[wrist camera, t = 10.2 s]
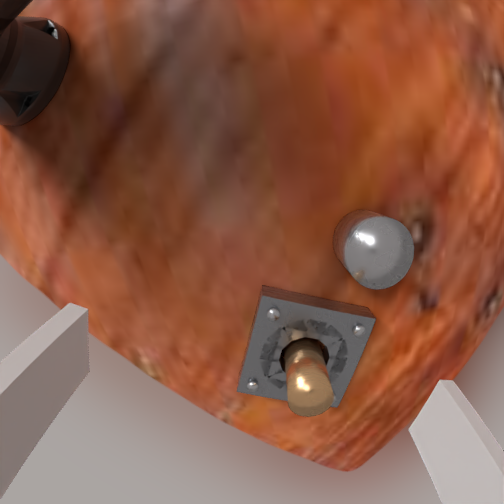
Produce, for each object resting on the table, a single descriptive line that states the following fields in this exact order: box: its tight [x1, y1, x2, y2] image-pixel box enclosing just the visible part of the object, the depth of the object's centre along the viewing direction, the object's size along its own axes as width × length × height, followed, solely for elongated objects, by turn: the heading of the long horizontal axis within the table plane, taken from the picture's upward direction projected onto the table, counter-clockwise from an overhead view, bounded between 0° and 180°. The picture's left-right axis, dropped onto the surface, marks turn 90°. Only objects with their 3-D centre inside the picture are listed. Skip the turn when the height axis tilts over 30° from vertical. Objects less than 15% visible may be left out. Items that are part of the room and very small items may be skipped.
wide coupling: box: [333, 210, 414, 289], centre depth 29 cm, size 6×6×6 cm
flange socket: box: [237, 285, 376, 407], centre depth 33 cm, size 12×12×4 cm
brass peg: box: [284, 337, 334, 417], centre depth 30 cm, size 4×4×10 cm
